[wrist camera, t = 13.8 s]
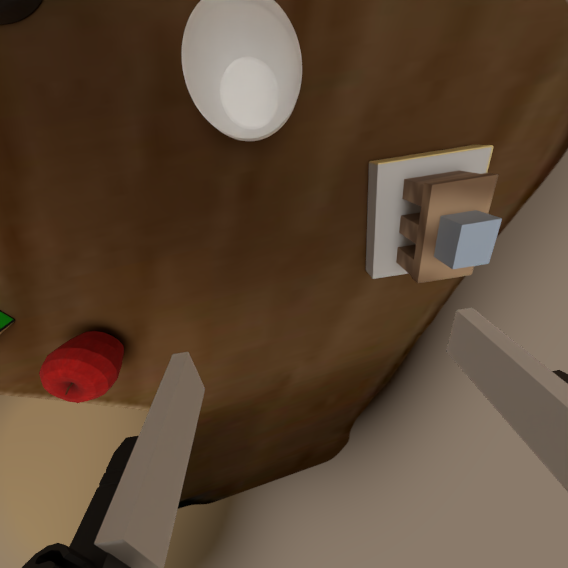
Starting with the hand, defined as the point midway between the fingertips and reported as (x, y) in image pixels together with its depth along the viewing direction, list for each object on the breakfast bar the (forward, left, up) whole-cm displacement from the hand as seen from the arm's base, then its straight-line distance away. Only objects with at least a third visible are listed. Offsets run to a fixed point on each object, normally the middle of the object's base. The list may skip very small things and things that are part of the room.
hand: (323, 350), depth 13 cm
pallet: (+3, +19, -24) cm, 30 cm away
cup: (-14, -2, -27) cm, 30 cm away
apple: (+17, -34, -27) cm, 47 cm away
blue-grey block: (+3, +19, -18) cm, 26 cm away
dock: (+3, +19, -27) cm, 33 cm away
